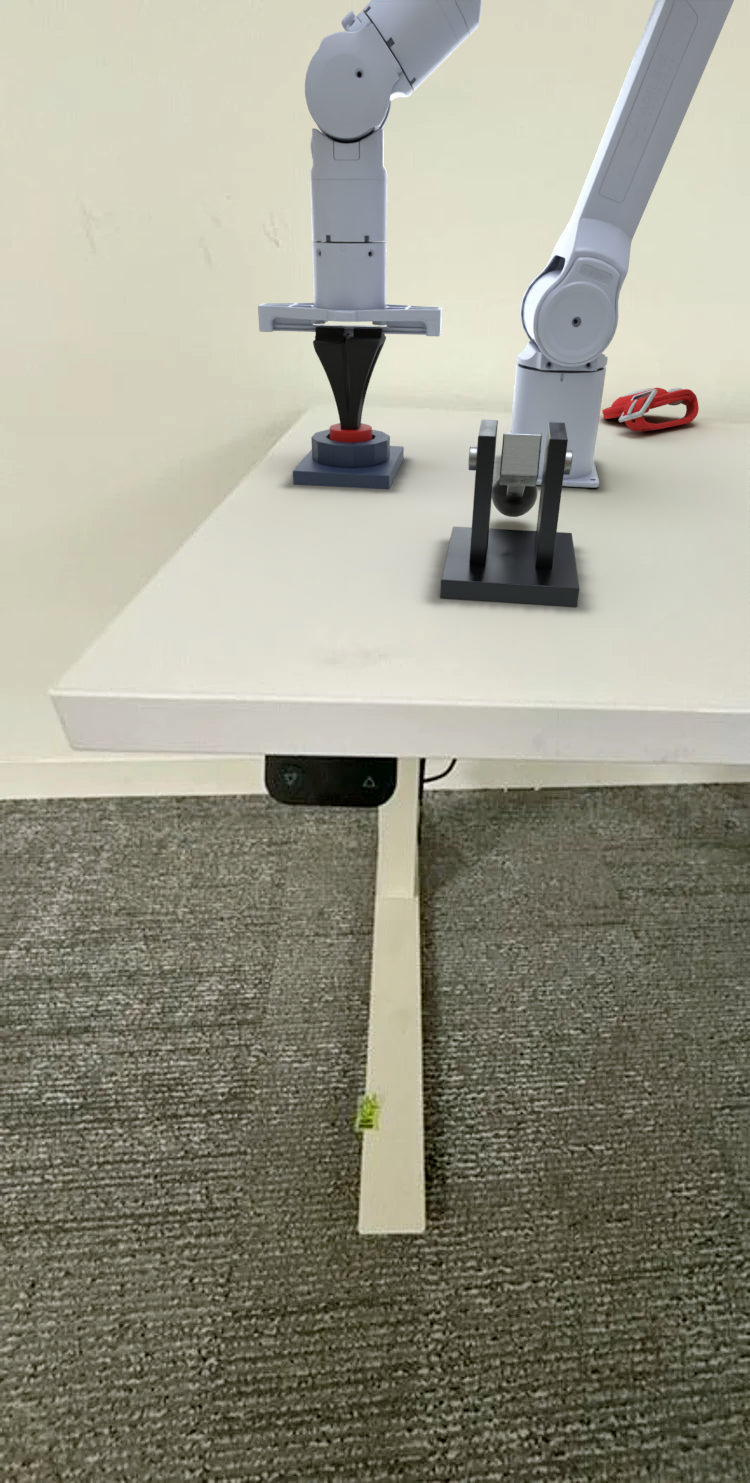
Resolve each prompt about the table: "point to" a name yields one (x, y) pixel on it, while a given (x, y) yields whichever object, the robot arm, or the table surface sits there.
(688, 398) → the red strap with buckle
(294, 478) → the box
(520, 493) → the lever
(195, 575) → the table surface
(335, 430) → the button
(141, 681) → the table surface
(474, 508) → the bracket
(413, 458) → the table surface
